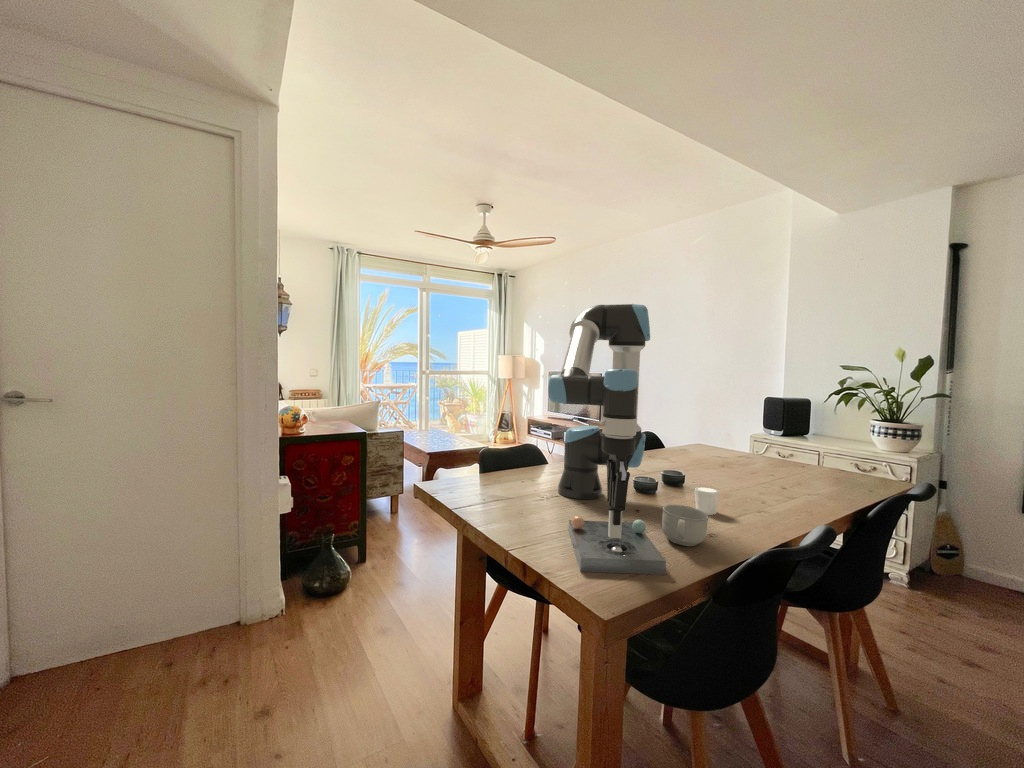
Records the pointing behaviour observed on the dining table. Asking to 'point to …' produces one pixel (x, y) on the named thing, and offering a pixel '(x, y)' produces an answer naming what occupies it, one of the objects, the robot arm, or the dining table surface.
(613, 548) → the steel ball
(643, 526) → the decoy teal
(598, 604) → the dining table surface
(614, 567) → the plate
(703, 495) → the shot glass
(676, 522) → the teacup
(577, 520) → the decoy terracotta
